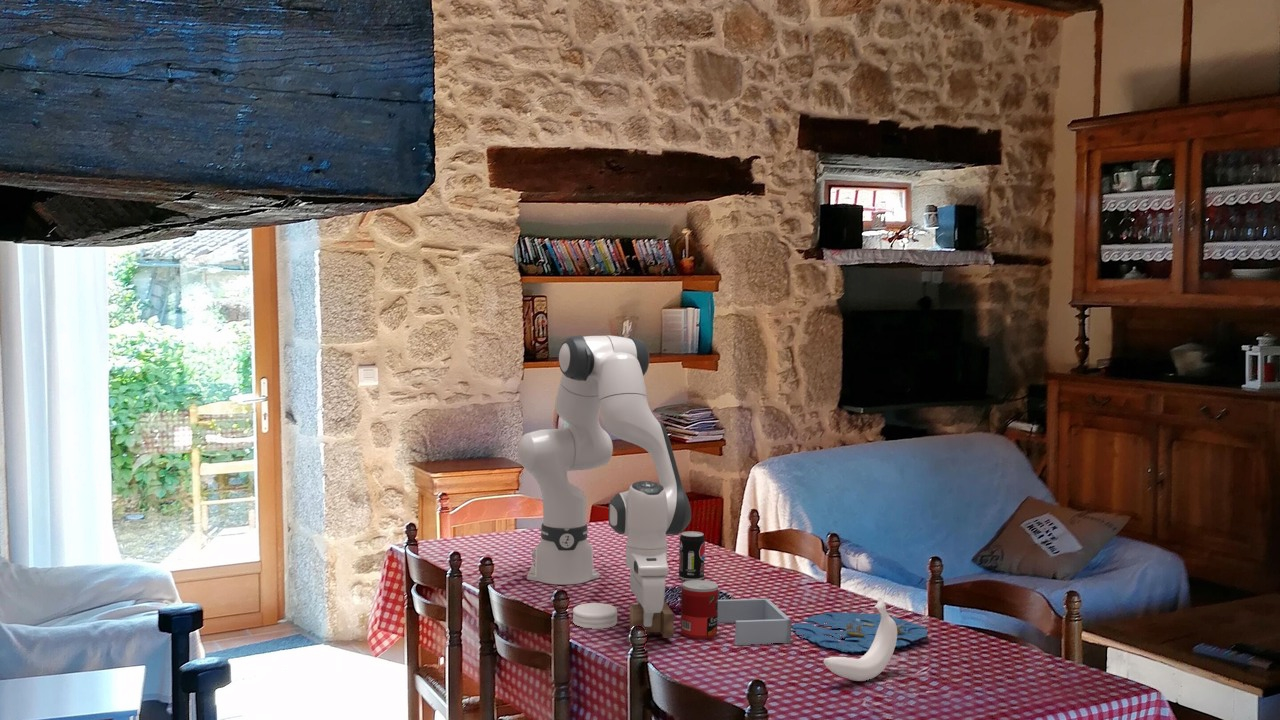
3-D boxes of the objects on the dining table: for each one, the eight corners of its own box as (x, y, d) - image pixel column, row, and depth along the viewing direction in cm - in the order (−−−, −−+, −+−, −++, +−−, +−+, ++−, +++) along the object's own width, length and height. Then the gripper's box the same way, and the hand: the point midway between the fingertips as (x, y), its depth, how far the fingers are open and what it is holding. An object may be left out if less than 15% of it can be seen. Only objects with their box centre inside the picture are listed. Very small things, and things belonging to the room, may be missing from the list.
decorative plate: (776, 652, 227) (775, 628, 227) (807, 614, 255) (807, 592, 255) (919, 666, 217) (919, 641, 216) (935, 624, 244) (935, 602, 244)
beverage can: (695, 583, 276) (696, 537, 275) (673, 579, 279) (674, 534, 279) (708, 578, 281) (709, 533, 281) (687, 574, 285) (688, 529, 284)
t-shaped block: (635, 638, 225) (636, 615, 225) (626, 621, 237) (626, 599, 236) (673, 637, 226) (673, 613, 226) (662, 620, 238) (662, 598, 238)
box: (716, 621, 243) (716, 599, 243) (767, 620, 245) (767, 598, 245) (736, 645, 226) (736, 622, 226) (790, 643, 228) (791, 620, 228)
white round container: (572, 617, 245) (572, 602, 245) (615, 617, 246) (616, 602, 246) (573, 630, 235) (573, 614, 235) (618, 630, 236) (619, 614, 236)
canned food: (714, 641, 229) (716, 590, 228) (677, 638, 231) (678, 587, 230) (719, 630, 236) (720, 581, 236) (683, 627, 238) (684, 578, 237)
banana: (821, 686, 203) (823, 609, 202) (881, 665, 216) (883, 593, 215) (842, 693, 199) (844, 615, 199) (901, 671, 212) (904, 598, 211)
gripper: (624, 547, 240) (622, 608, 241) (640, 570, 220) (638, 636, 221) (651, 547, 241) (650, 607, 242) (670, 569, 221) (668, 635, 222)
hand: (645, 622), depth 231 cm, fingers closed on t-shaped block, 4 cm apart
